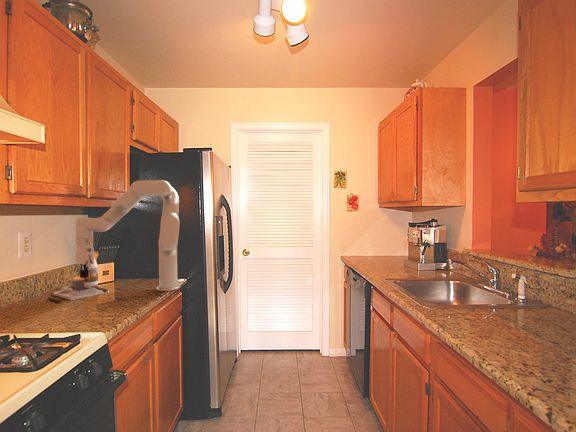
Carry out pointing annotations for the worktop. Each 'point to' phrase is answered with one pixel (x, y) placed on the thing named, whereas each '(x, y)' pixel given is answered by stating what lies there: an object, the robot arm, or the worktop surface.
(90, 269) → the milk bottle
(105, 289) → the cord
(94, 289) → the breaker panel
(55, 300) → the cord
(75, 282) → the block
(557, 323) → the worktop surface
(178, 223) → the robot arm
